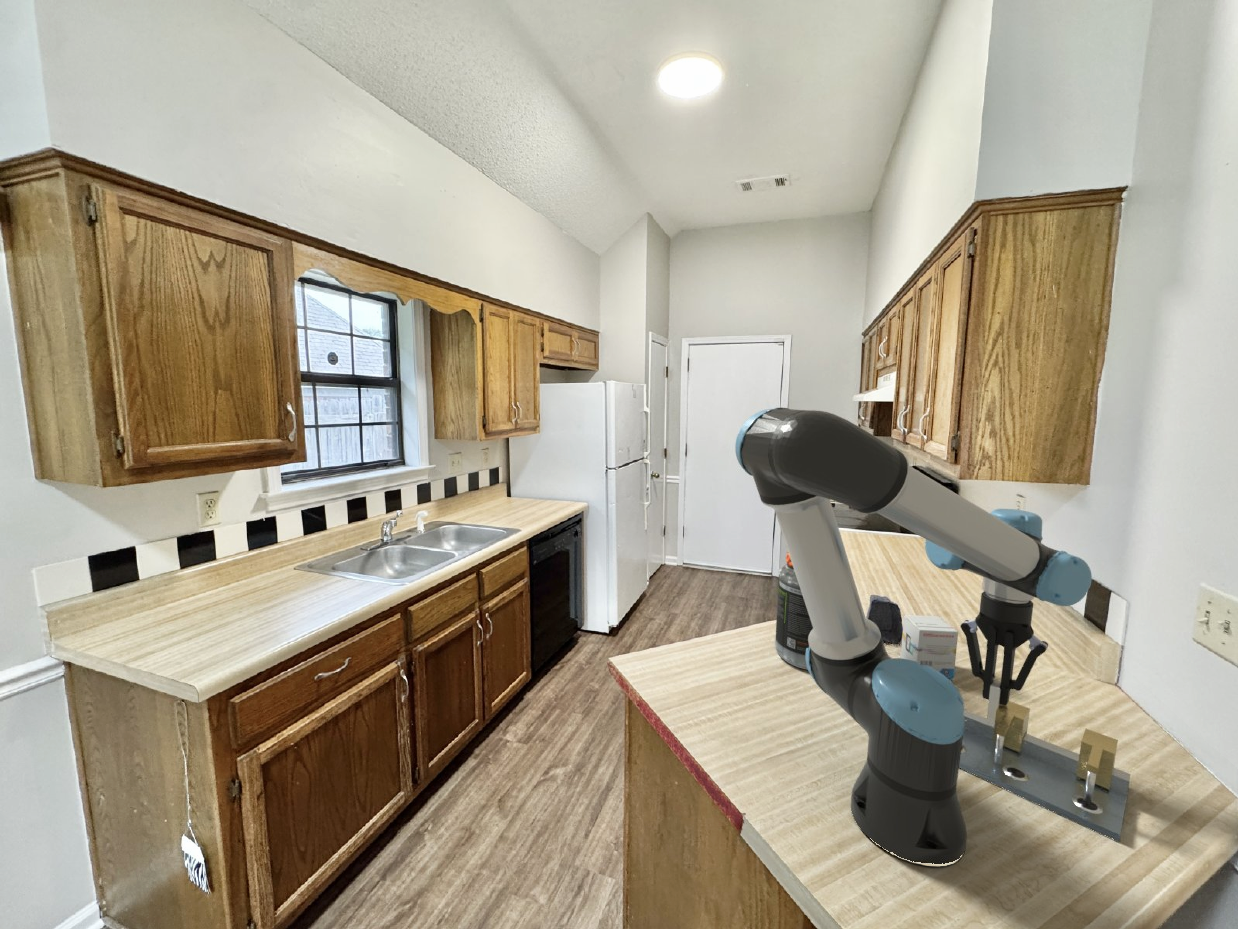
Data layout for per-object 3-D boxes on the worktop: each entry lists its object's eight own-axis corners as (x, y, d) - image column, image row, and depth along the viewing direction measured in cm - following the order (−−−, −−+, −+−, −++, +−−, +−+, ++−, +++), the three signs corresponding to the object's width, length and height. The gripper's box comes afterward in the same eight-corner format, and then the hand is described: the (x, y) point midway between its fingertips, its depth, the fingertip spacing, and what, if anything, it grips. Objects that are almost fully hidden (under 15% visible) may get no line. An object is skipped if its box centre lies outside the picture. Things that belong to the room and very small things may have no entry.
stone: (898, 654, 133) (858, 637, 136) (890, 644, 142) (852, 627, 145) (916, 611, 132) (875, 594, 135) (906, 604, 142) (868, 588, 145)
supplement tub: (850, 676, 119) (858, 567, 115) (779, 670, 121) (785, 563, 118) (833, 644, 134) (840, 547, 131) (770, 639, 137) (775, 544, 133)
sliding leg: (1011, 770, 87) (1015, 735, 86) (982, 758, 90) (986, 724, 89) (1026, 740, 95) (1030, 708, 94) (999, 729, 98) (1003, 698, 97)
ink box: (936, 661, 126) (940, 615, 125) (954, 680, 118) (959, 631, 116) (899, 659, 127) (903, 613, 126) (915, 677, 119) (919, 629, 117)
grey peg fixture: (1119, 842, 75) (1126, 792, 74) (921, 751, 94) (925, 710, 93) (1128, 787, 86) (1135, 743, 85) (949, 715, 105) (953, 678, 104)
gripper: (1057, 601, 91) (1041, 725, 94) (970, 581, 100) (958, 694, 104) (1050, 613, 86) (1033, 743, 89) (959, 590, 95) (947, 709, 99)
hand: (993, 717), depth 96 cm, fingers closed
